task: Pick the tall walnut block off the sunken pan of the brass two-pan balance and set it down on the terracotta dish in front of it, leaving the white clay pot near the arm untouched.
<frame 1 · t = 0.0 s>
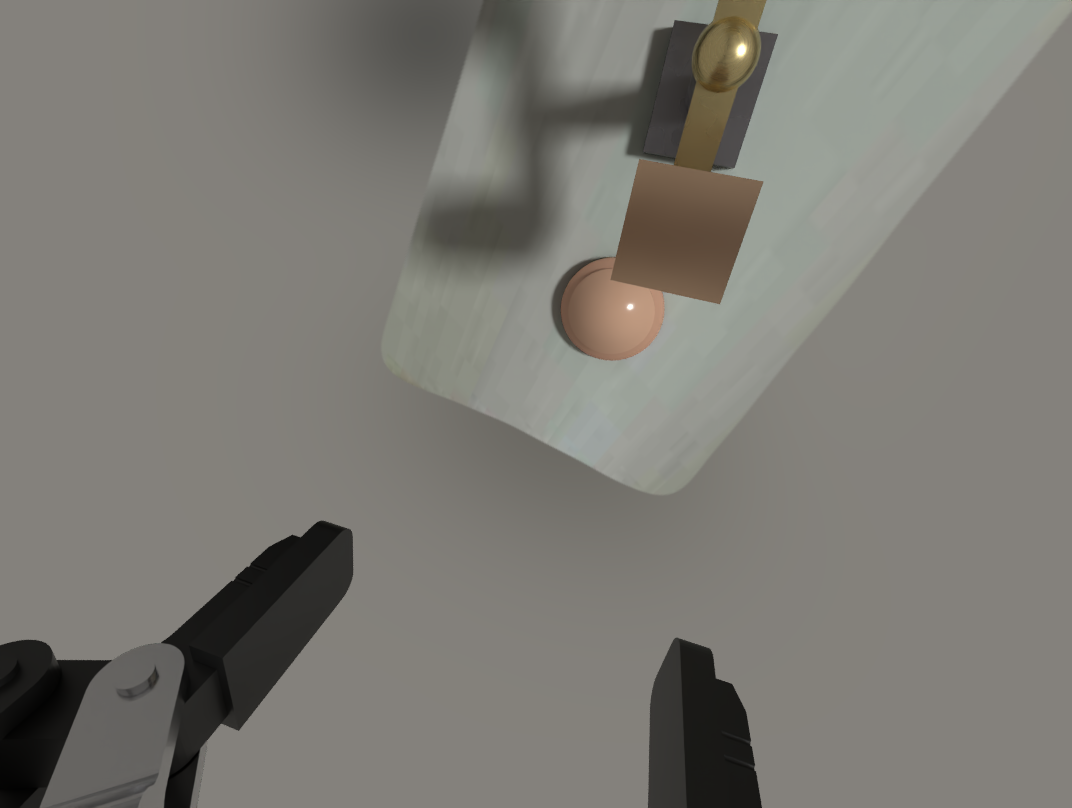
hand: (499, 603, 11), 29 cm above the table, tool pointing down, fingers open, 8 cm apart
walnut block: (676, 224, 23), point 11 cm above the table, touching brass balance
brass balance: (704, 100, 30), on the table
terracotta dish: (612, 309, 37), on the table
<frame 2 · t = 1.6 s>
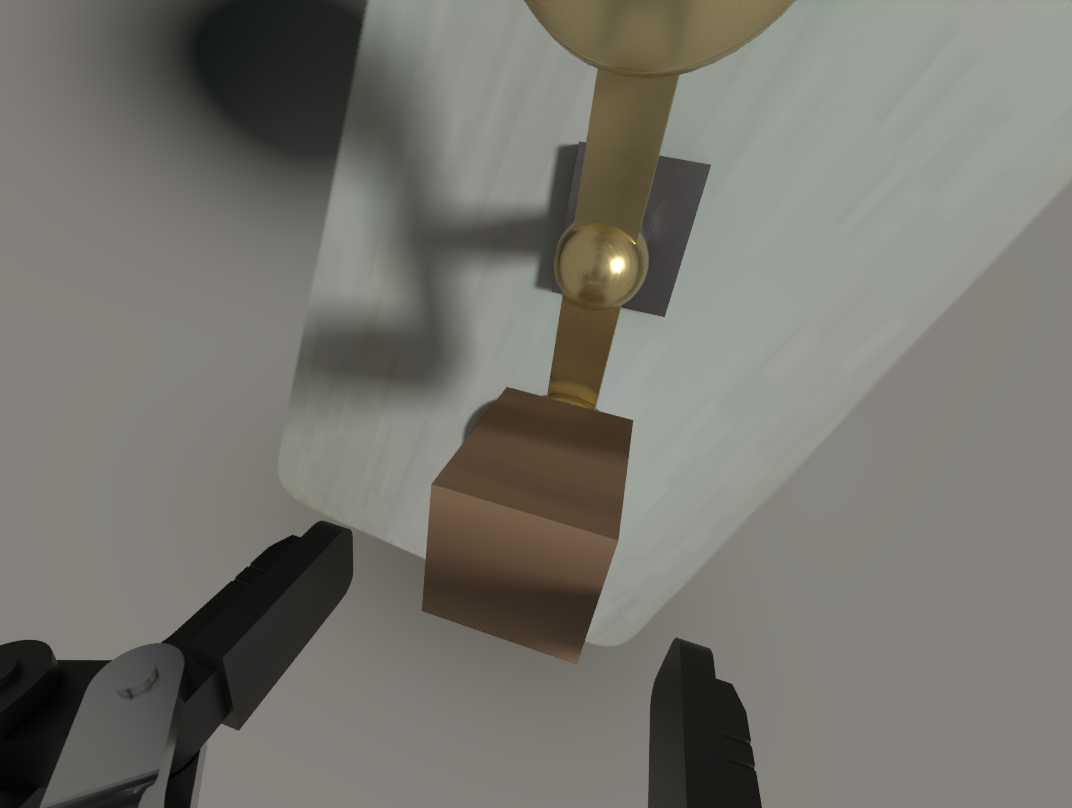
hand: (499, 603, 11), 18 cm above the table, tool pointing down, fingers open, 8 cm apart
walnut block: (556, 456, 17), point 11 cm above the table, touching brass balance
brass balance: (625, 231, 23), on the table
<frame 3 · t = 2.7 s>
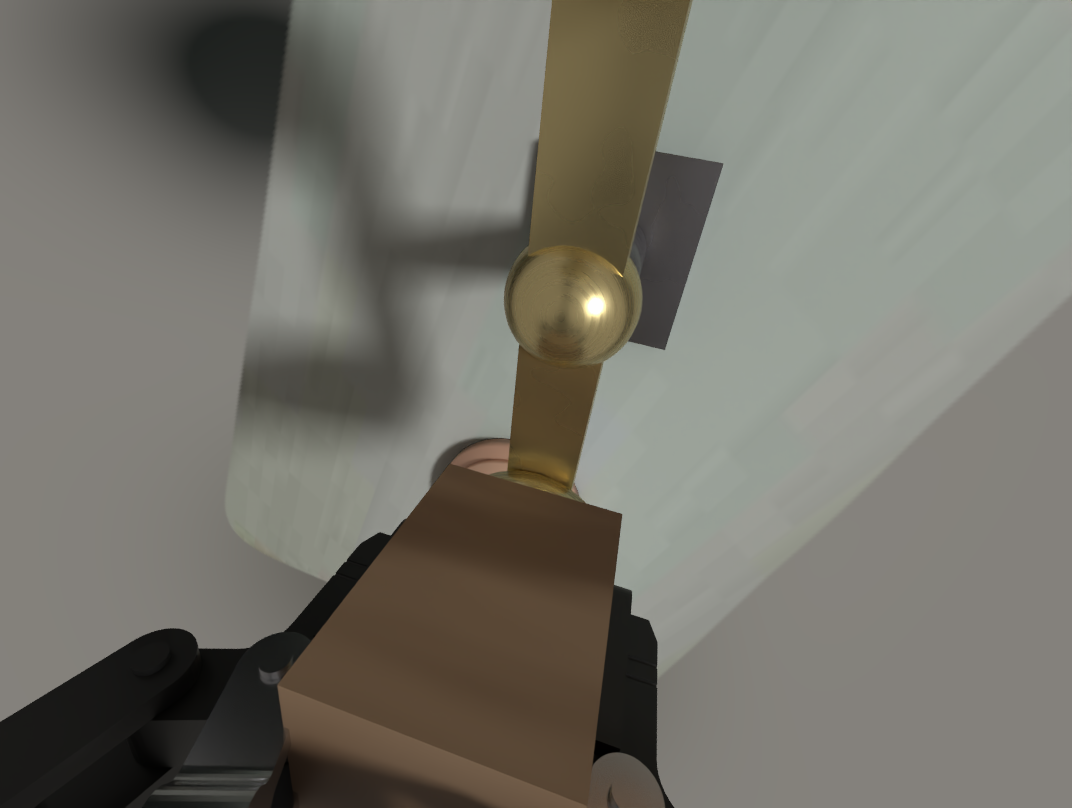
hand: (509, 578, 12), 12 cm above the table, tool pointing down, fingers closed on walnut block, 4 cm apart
walnut block: (519, 553, 12), point 11 cm above the table, touching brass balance, gripper
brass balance: (617, 245, 19), on the table
terracotta dish: (510, 501, 26), on the table
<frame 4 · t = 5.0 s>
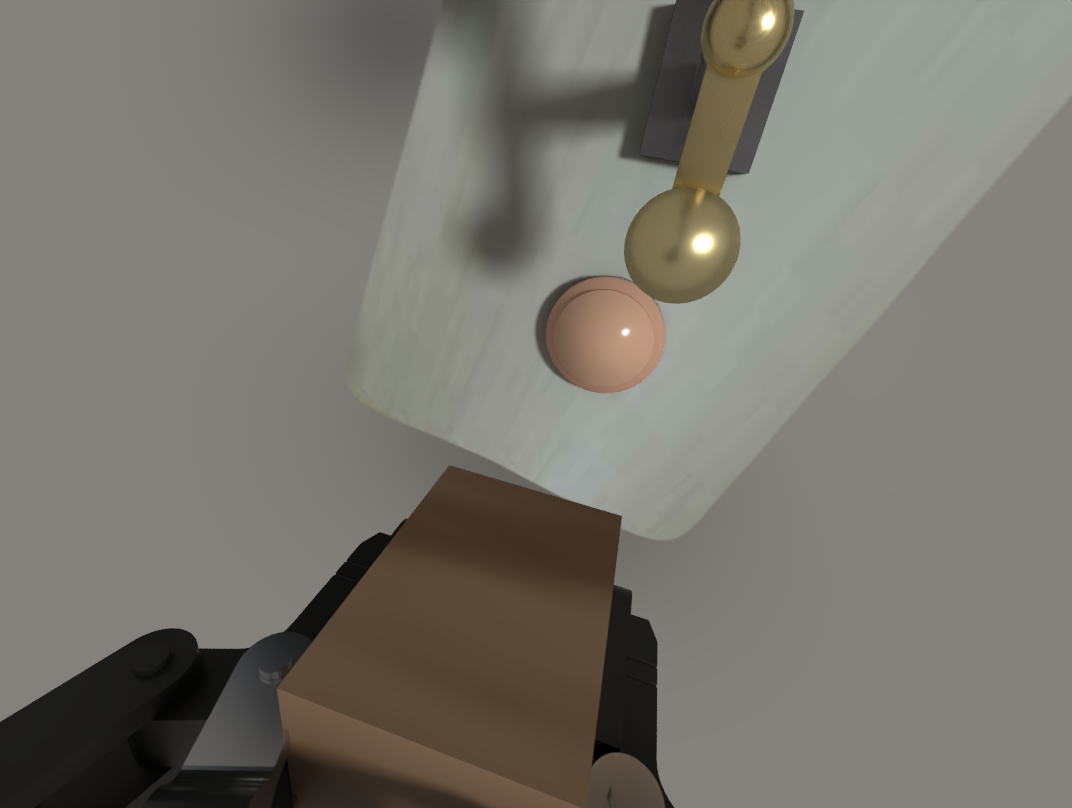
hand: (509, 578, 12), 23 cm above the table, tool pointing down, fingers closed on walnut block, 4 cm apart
walnut block: (519, 555, 12), point 22 cm above the table, touching gripper
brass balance: (712, 92, 25), on the table
terracotta dish: (604, 334, 32), on the table
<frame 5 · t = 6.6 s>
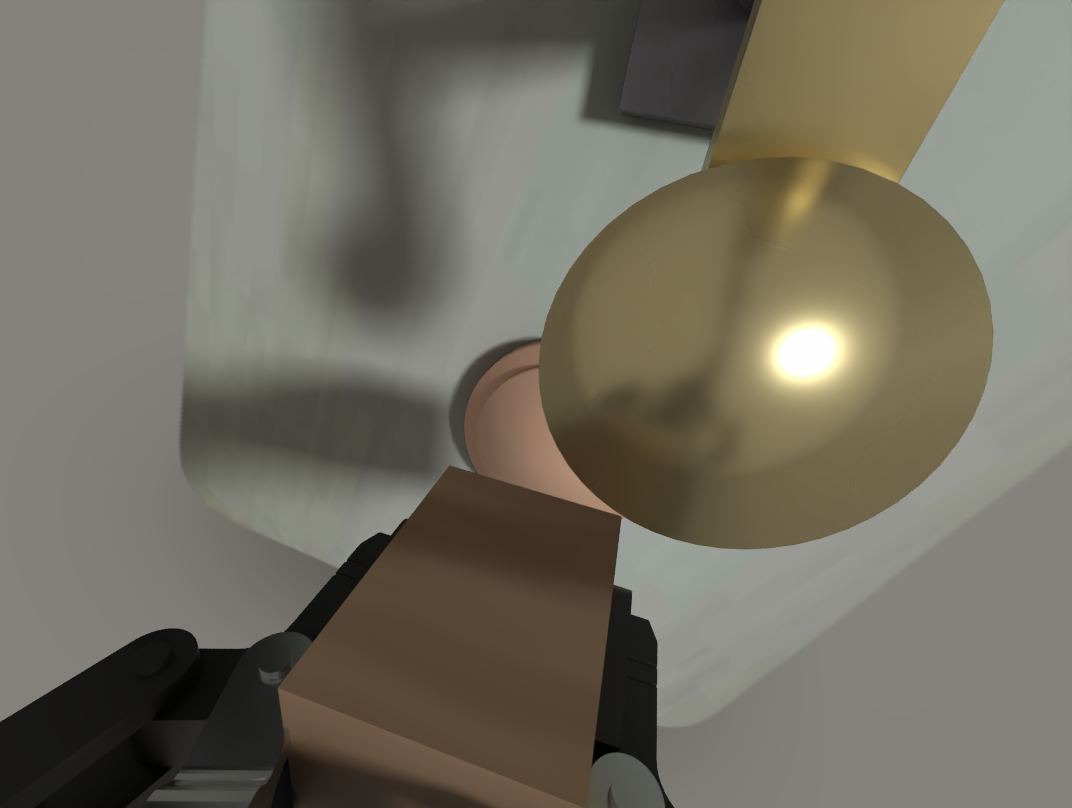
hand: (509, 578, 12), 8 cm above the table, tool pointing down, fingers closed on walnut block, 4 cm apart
walnut block: (519, 555, 12), point 7 cm above the table, touching gripper
terracotta dish: (565, 433, 18), on the table
when the fingers open (4 cm above the table, at t = 7.6 s): walnut block drops 1 cm, resting on terracotta dish.
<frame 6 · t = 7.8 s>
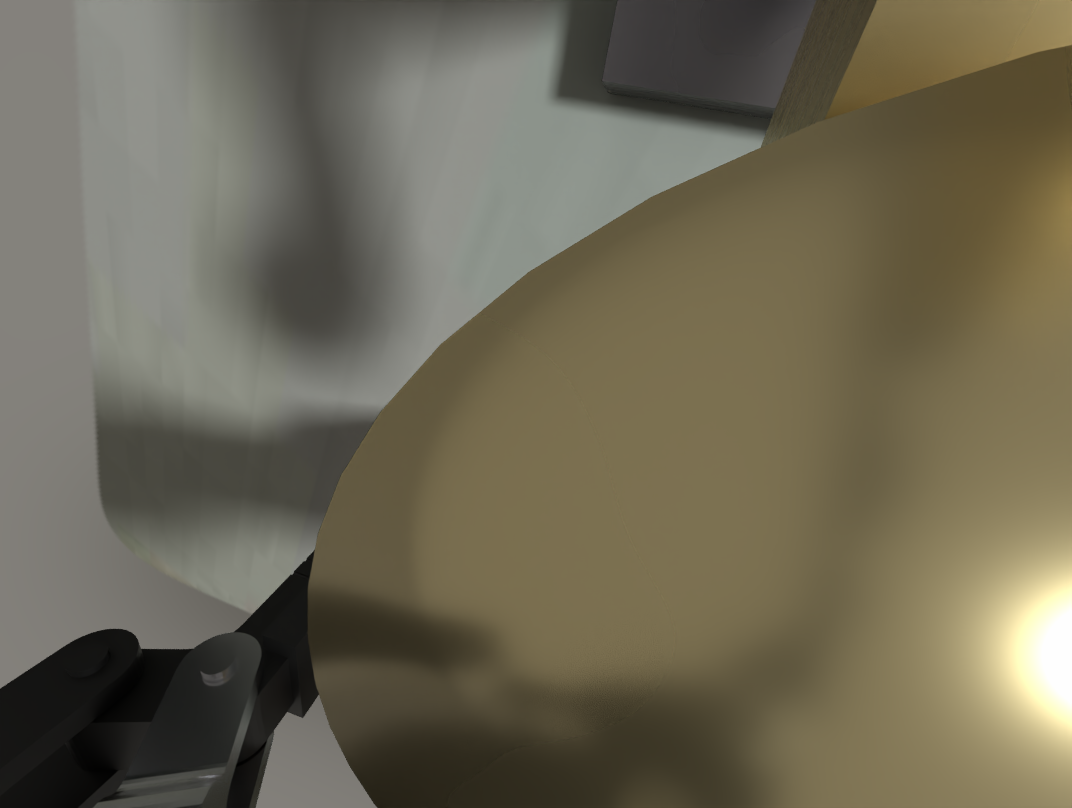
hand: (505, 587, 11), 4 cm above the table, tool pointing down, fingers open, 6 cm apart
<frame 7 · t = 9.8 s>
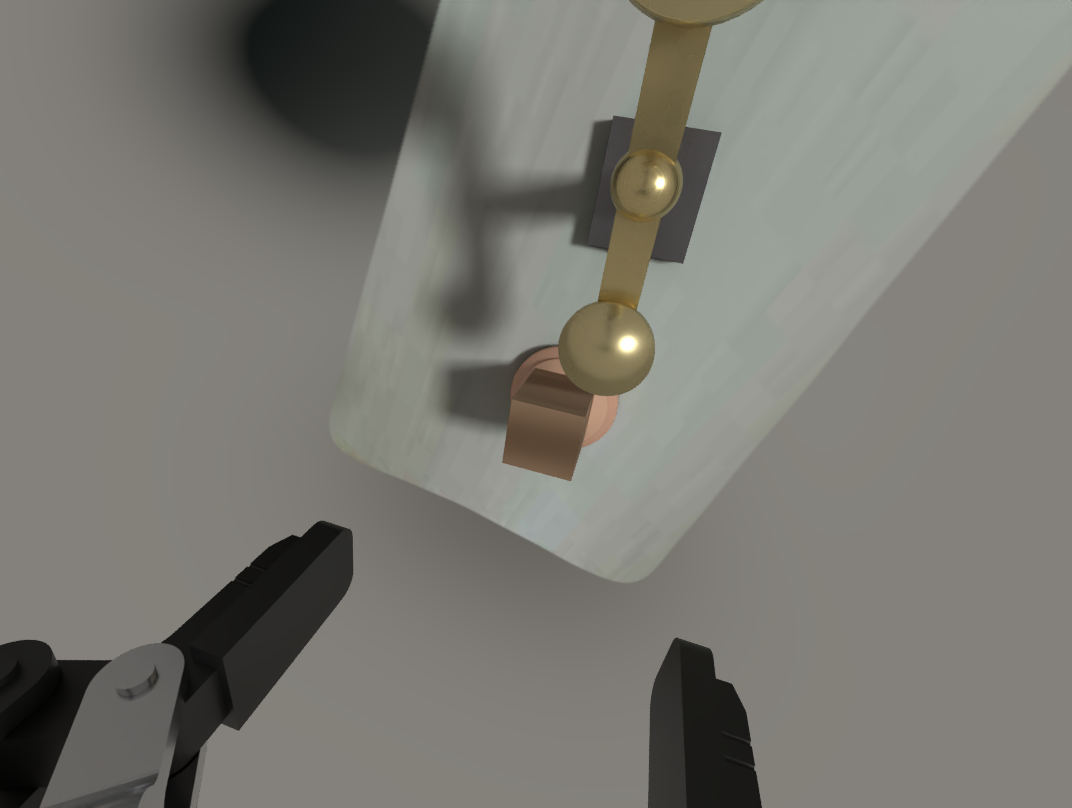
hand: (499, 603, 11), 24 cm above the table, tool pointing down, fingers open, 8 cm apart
walnut block: (560, 403, 33), point 1 cm above the table, touching terracotta dish
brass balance: (649, 193, 28), on the table
terracotta dish: (564, 396, 34), on the table
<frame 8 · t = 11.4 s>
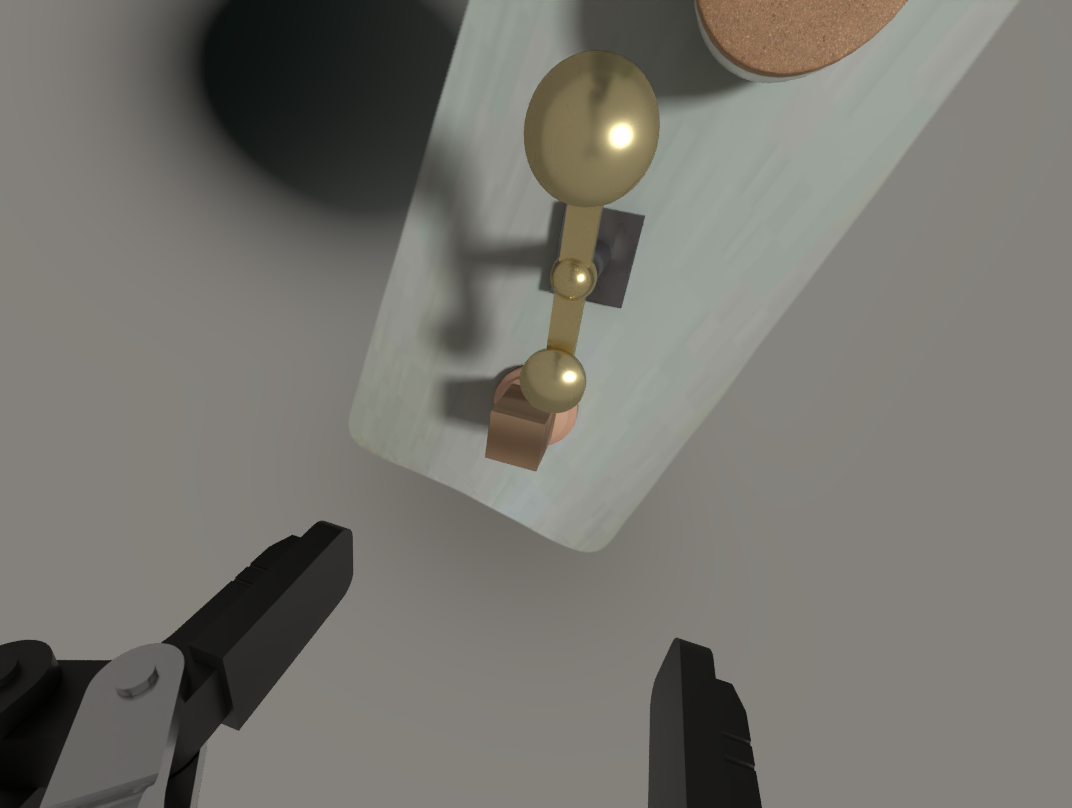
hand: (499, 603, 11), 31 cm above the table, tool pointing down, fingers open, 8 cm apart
walnut block: (532, 410, 43), point 1 cm above the table, touching terracotta dish
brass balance: (596, 254, 37), on the table
terracotta dish: (536, 404, 44), on the table
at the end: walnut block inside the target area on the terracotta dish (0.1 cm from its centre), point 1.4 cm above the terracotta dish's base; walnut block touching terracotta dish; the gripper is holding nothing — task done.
